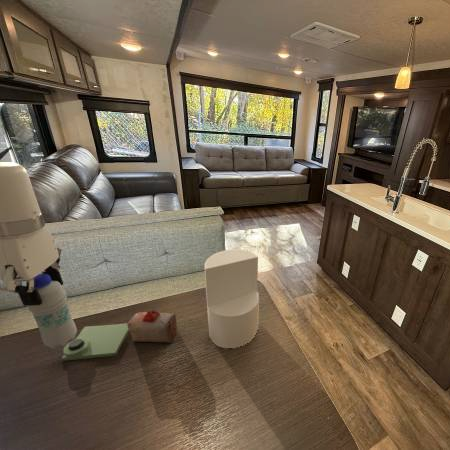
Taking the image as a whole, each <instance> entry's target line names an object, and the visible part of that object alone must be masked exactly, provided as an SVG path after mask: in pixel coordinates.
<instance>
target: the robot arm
mask: <svg viewBox="0 0 450 450" xmlns="http://www.w3.org/2000/svg"><path fill="white" fill-rule="evenodd" d="M61 255H62V249H61V248H59V247H57V244H56V242H55V240H54V238H53V235H52V234H51V231H50V230H49V228H48V226H47V224H46V223H45V219H44V217H43V214H42V211H41V209H40V205H39V203H38V198H37V195H36V194H35V190H34V186H33V184H32V181H31V179H30V175H29V173H28V170H27V168H25V167H24V165H22V164H20V163H15V162H10V161H9V162H7V161H0V280H1V282H0V291H4V292H10V293H14V294H18V296H19V298H20V300H21V304H22V305H23V306H25V307H27V306H33V305H41V304H42V300H41V297H40V295H39V292H38V290H37V289H34V277H35V276H37V275H39V274H48V275H49V276H50V277H51V280H52V281H58V282H59V283H60V284H61V286H63V285H64V281H63V277H62V275H61V272H60V270H61V266H60V261H61ZM22 282H25V283H26V285H23V283H22Z"/></svg>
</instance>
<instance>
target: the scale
mask: <svg viewBox="0 0 450 450" xmlns="http://www.w3.org/2000/svg"><path fill="white" fill-rule="evenodd" d="M127 324H128V322H127V323H117V324H115V323H114V324H103V325H91V326H89V325H88V326H84V327H83V328H82V329H81V331H80V333H78V335H77V337H75V339H74V340H76V339H82V341H83V346H82V347H81V348H80V349H77V350H74V351H72V350H70V347H69V344H70V343H71V342H72V341H69V342H67V344H66V346H63V349H62V350H63V355H62V356H61V361H62V362H64V361H65V362H67V361H76V360H83V359H84V360H85V359H94V358H104V357H114V356H117V355H118V353H119V351H120V350H121V348H122V346H123V343H124V342H125V339H126V338H127V336H128V334H129V333H130V331H129V329H128V325H127Z"/></svg>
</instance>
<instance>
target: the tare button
mask: <svg viewBox="0 0 450 450" xmlns="http://www.w3.org/2000/svg"><path fill="white" fill-rule="evenodd" d="M75 339H76V338H75ZM75 339H74V340H73V341H72V342H71V341H70V342H71V343H70V342H69V343H70V344H69V347H70V350H72V351H74V350H77V349H80V348H81V347H82V346H83V341H82V339H76V340H75Z"/></svg>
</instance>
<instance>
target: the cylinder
mask: <svg viewBox="0 0 450 450" xmlns="http://www.w3.org/2000/svg"><path fill="white" fill-rule="evenodd" d="M203 266H204V280H205V281H204V283H205V294H206V295H205V297H206V305H207V306H206V307H207V308H206V309H207V324H208V325H207V326H208V336H209V339H210V338H211V339H210V340H211V342H212V343H213V344H214V345H216V347H220V348H222V349H228V348H232V349H238V348H241V347H240V346H242V347H244V346H246V345H248V344H249V343H251V342H252V341H253V340H254V339H255V338H256V336H257V334H258V331H259V321H260V320H259V319H260V318H259V316H260V294H259V292H258V277H259V276H258V275H259V272H258V271H259V256H258V255H257V254H255V253H254V252H252V251H249V250H245V249H225V250H222V251H221V250H220V251H217V252H216V253H215V252H214V253H213V254H212V255H210V256H209V257H207V259H206V260H205V262H204V265H203ZM257 330H258V331H257ZM256 333H257V334H256ZM255 335H256V336H255ZM253 338H254V339H253ZM252 339H253V340H252ZM247 343H248V344H247ZM245 344H246V345H245ZM243 345H244V346H243ZM237 347H238V348H237Z"/></svg>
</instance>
